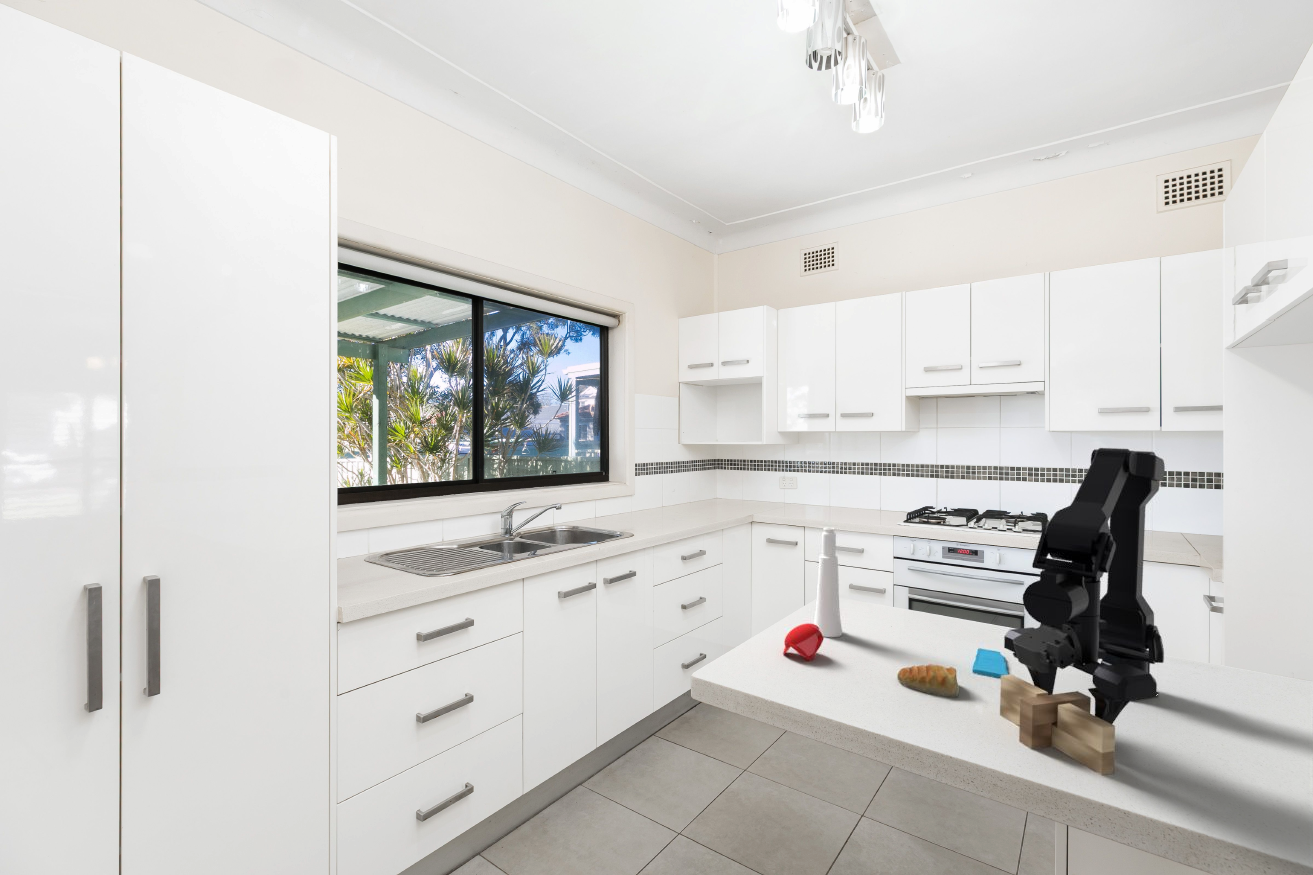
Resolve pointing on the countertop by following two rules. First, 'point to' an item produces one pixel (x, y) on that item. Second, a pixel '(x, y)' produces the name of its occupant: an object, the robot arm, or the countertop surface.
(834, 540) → the cosmetic bottle
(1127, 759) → the countertop surface
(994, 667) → the sponge
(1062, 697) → the walnut slot plate
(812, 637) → the red rounded piece
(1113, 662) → the robot arm
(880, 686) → the countertop surface
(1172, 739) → the countertop surface
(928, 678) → the pastry
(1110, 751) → the oak slot board
